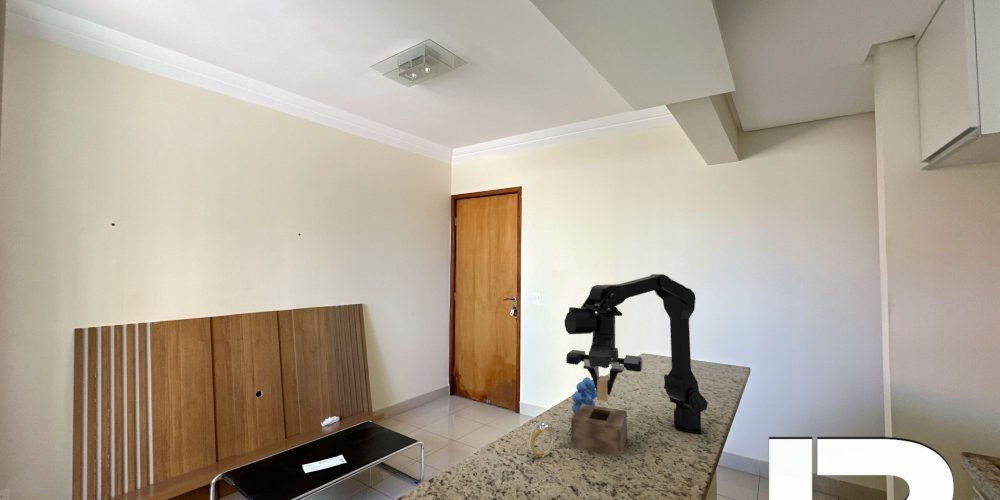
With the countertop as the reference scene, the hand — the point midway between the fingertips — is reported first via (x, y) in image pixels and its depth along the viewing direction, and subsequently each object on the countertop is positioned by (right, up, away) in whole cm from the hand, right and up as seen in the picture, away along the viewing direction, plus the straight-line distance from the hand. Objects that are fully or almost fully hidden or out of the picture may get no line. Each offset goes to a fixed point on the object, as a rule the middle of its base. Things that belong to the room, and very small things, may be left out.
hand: (603, 393), depth 100 cm
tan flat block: (0, -1, 0) cm, 1 cm away
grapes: (-2, -14, +16) cm, 21 cm away
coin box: (-1, -12, 0) cm, 12 cm away
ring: (-17, -12, -9) cm, 22 cm away
